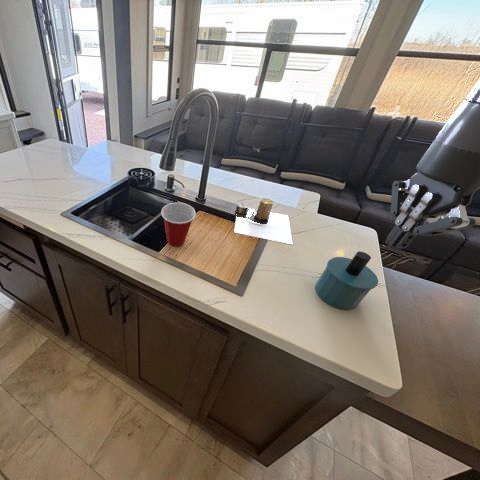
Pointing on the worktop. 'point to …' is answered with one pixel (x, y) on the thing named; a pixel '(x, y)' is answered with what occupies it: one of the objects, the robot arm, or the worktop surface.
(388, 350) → the worktop surface
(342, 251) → the worktop surface
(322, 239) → the worktop surface
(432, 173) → the robot arm
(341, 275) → the lid
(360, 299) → the canister
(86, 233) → the worktop surface
